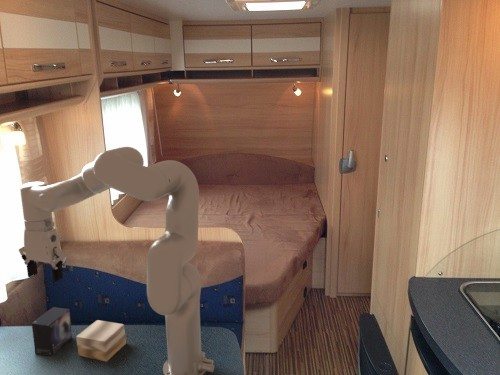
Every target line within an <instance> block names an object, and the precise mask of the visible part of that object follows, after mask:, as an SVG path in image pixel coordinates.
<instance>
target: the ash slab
mask: <svg viewBox="0 0 500 375" xmlns="http://www.w3.org/2000/svg"><path fill="white" fill-rule="evenodd" d="M124 335H126V330H125V324H123V323H118V322H113V321H106V320H99V319H97V320H95V321H94V322H93V323H91V324H90V325H89V326H87V327H86V328H85V329H83V330H82V331H81V332H80V333H79V334H77V335H76V338H75V339H76V346H77V348H78V347H80V348H85V349H91V350H96V351H101V352H107V351H108V350H109V349H110V348H111V347H112V346H113V345H114V344H115V343H116V342H117V341H118V340H119V339H121V338H122V337H123V336H124Z"/></svg>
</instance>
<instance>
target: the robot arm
mask: <svg viewBox="0 0 500 375" xmlns="http://www.w3.org/2000/svg"><path fill="white" fill-rule="evenodd" d="M144 163H145V162H144V157H143V155H142V154H141V152H140V151H139V150H138V149H136V148H135V147H132V146H123V147H122V146H121V147H117V148H114V149H109V150H106V151H103V152H101V153H99V154H98V155H97V156H96V158H95V159H94V160H93V161H91V162H89V163H87V164H86V165H85V166H83V168H82V170H81V173H79V174H78V175H76V176H73V177H71V178H69V179H66V180H63V181H60V182H55V183H53V184H49V185H48V183H46V182H43V181H30V182H26V183H24V184H22V185H21V186H20V197H21V206H22V214H23V221H24V230H23V232H24V233H23V246H22V247H20V248H19V249H18V252H19V254H20V255H21V259H22V260H23V261H24V265H26V270H27V271H26V272H27V278H31V277H33V276H36V275H37V274H38V265H37V262H42V263H45V264H46V263H49V264H50V265H51V267H52V270H51V271H52V272H51V274H52V281H53V283H54V282H55V283H57V282H59V281H60V280H62V279H63V278H64V277H63V276H64V275H63V268H62V267H63V266H64V264H65V263H66V260H67V257H68V254H66V252H63V250H62V247H61V242H60V237H59V234H58V231H57V229H56V227H55V222H54V220H53V213H55V212H58V211H61V210H63V209H66V208H68V207H71V206H74V205H76V204H79V203H81V202H83V201H85V200H87V199H89V198H91V197H94V196H96V195H97V194H101V193H104V192H105V191H107V190H109V189H113V190H116V191H119V192H121V193H123V194H126V195H128V196H130V197H132V198H135V199H138V200H140V201H144V202H153V201H158V200H159V199H162V198H163V197H165V196H167V195H168V201H167V204H166V209H165V229H164V233H163V235H162V236H160V237H159V238H157V239H156V240H154V242H153V243H152V244H151V245H150V247H149V249H148V252H147V255H146V256H147V257H146V296H147V301H148V303H149V306H150V307H151V309H152V310H153V311H154V312H155V313H157V314H159V315H161V316H164V317H165V332H166V333H165V334H166V348H167V349H166V350H167V360H166V361H165V362H164V363H163V365H162V366H163V367H162V373H163V375H205V374H206V372H209V373H214V370H215V365H214V364H215V363H214V361H215V360H214V359H208V358H207V357H206V352H205V351H202V337H201V336H202V332H201V311H200V310H201V308H200V306H201V305H200V302H201V301H200V300H201V291H202V278H201V274H200V272H199V270H198V268H197V267H196V266H195V265H194V264H192V263H191V262H190V261H192V259H193V258H194V257H195V256H196V255H197V252H198V249H199V248H198V246H199V202H200V190H199V189H200V188H199V183H198V180H197V178H196V176H195V174H194V173H193V171H192V170H191V169H190V168H189V167H188V166H187V165H185V164H184V163H182V162H180V161H178V160H173V159H169V160H162V161H159V162H156V163H153V164H150V165H148V166H145V165H144Z"/></svg>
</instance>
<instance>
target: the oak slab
mask: <svg viewBox="0 0 500 375" xmlns="http://www.w3.org/2000/svg"><path fill="white" fill-rule="evenodd" d="M126 344H127V337H126V334H125V335H124V336H123V337H122V338H121V339H119V340H118V341H117V342H116V343H115V344H114V345H113V346H112V347H111V348H110V349H109V350H108V351H107V352H101V351H96V350H91V349H85V348H80V347H77V352H78V353H77V354H78V356H79V357H84V358H87V359H88V358H89V359H93V360H97V361H102V362H108V361H109V360H110V359H111V358H112V357H114V355H115V354H116V353H117V352H118V351H120V350H121V349H122V348H123V347H124V346H125V345H126Z"/></svg>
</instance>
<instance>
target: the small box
mask: <svg viewBox="0 0 500 375" xmlns="http://www.w3.org/2000/svg"><path fill="white" fill-rule="evenodd" d="M70 314H71V313H70V308H64V307H63V308H62V307H56V306H52V307H51V308H50V309H48V310H47V311H45V312H44V313H43V314H42V315H40V316H39V317H38V318H36V319H35V320H34V321H32V322H31V327H32V328H31V329H32V336H33V337H32V338H33V345H34V347H33V348H34V354H37V355H44V356H54V355H55V354H56V353H57V352H58V351H59V350H60V349H61V348H62V347H64V346H65V345H66V344H67V343H68V342H69V341H70V340H72V339H73V334H72V322H71V315H70Z"/></svg>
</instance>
